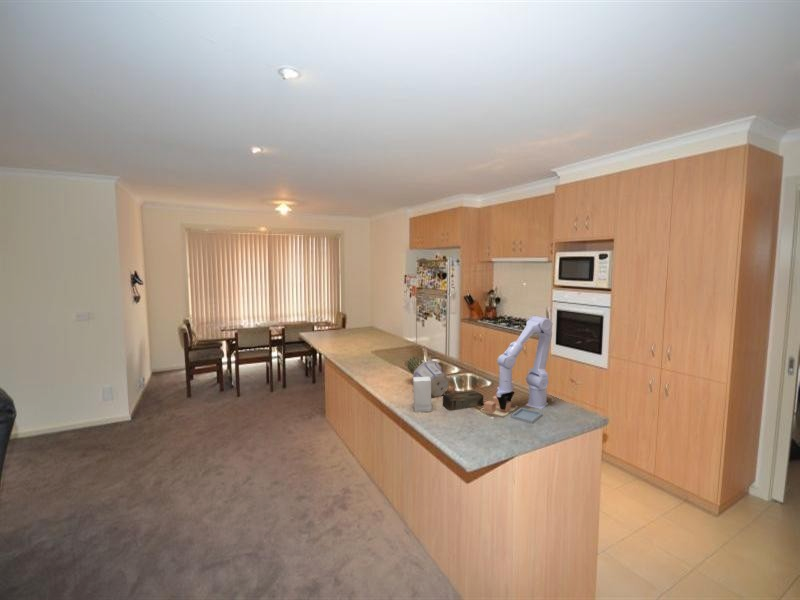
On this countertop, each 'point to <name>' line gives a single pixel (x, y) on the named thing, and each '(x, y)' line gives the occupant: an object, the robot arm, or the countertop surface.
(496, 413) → the birch tray
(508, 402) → the chunk
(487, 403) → the chunk
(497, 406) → the chunk
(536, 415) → the slate dish
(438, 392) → the potted plant
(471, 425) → the countertop surface
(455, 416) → the countertop surface
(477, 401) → the beverage carton
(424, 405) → the skincare box
